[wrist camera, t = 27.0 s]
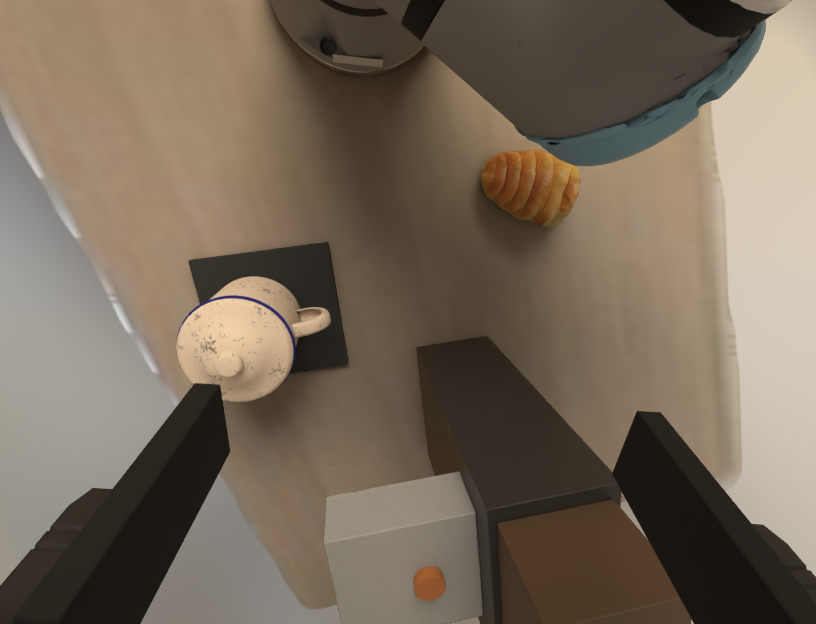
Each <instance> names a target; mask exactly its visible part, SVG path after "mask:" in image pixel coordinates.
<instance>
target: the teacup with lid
mask: <svg viewBox="0 0 816 624" xmlns="http://www.w3.org/2000/svg"><path fill="white" fill-rule="evenodd" d="M330 322H331V318H330V314H329V312H328V311H327V310H326V309H324V308H320V307H311V308H304V309H300V307H299V304H298V302H297V300H296V299H295V297H294V296H293V295H292V293H291V292H290V291H289V290H288V289H287V288H285V287H284V286H283V285H281V284H280V283H278V282H276V281H274V280H271V279H268V278H264V277H253V276H252V277H244V278H240V279H237V280H234V281H232V282H230V283H229V284H227V285H226V286H225V287H223V288H222V289H221V290H220V291H219V292H218V293H217V294H215V295H214V296H213V297H212V298H211V299H210V300H208V301H206V302H204V303H202V304H200V305H199V306H197V307H196V308H195V309H193V310H192V311H191V312H190V313H189V314H188V316H187V317H186V318H185V320H184V321H183V323H182V325H181V327H180V329H179V332H178V336H177V345H176V350H177V357H178V361H179V364H180V367H181V369H182V371H183V372H184V374H185V376H186V377H187V378H188V380H189V381H190V382H191V383H192V384H193V385H194V384H195V383H203V384H218V385H220V387H221V394H222V400H224V401H230V402H246V401H252V400H256V399H259V398H262V397H264V396H266V395H268V394H270V393H271V392H273V391H275V390H276V389H277V388H278V387H280V386H281V385H282V384H283V383H284V381H285V380H286V379H287V377H288V376H289V374H290V373H291V371H292V368H293V365H294V362H295V357H296V345H297V341H298V338H299V337H303V336H307V335H311V334H314V333H317V332H319V331H321V330H323V329H325V328H326V327H327V326H328V325H329V324H330Z"/></svg>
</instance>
